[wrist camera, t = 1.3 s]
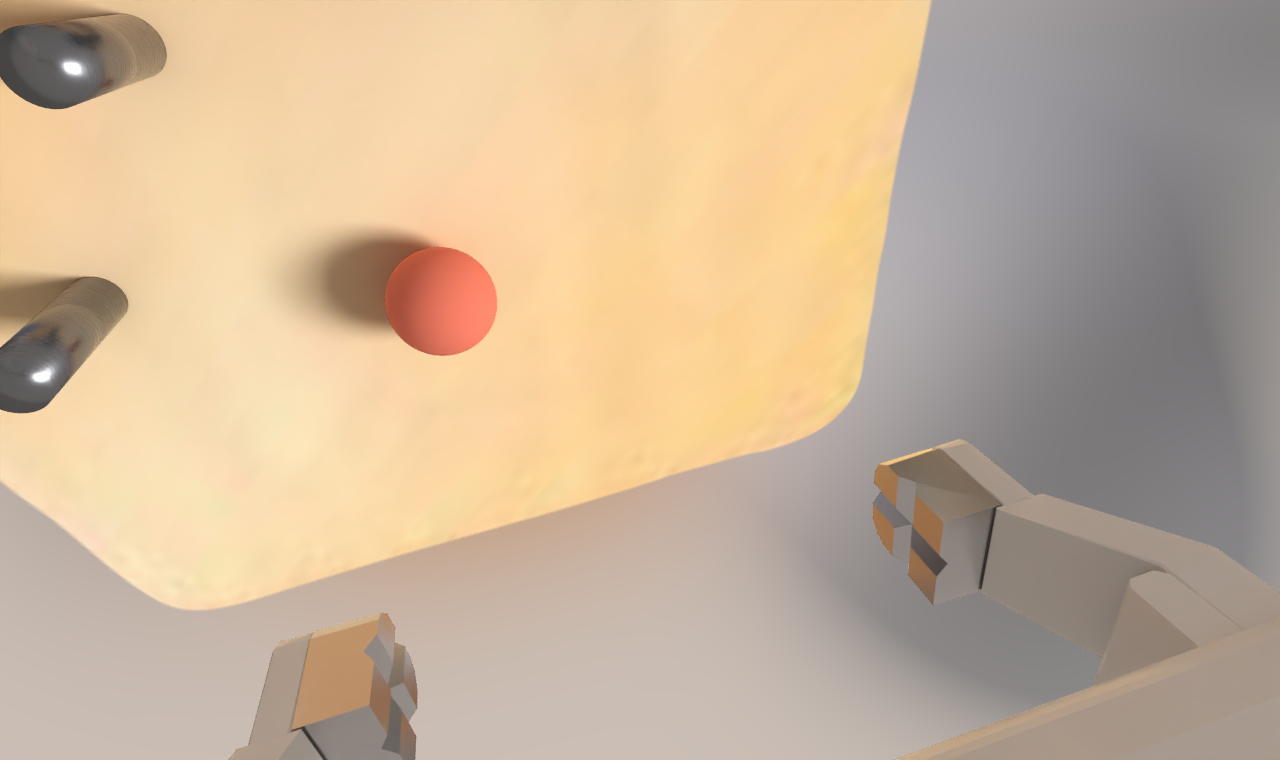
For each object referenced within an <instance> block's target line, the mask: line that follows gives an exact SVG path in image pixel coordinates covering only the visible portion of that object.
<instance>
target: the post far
mask: <svg viewBox="0 0 1280 760" xmlns="http://www.w3.org/2000/svg"><path fill="white" fill-rule="evenodd" d="M127 309H128V300H127V298H126V295H125V294H124V292H123V291H122V290H121V289H120V288H119V287H118V286H117V285H115V284H114V283H112V282H110V281H108V280H105V279H102V278H97V277H85V278H81V279H78V280H76V281H75V282H73V283H72V284H71V285H70V286H69V287H68V288H67V289H65V290H64V291H63V292H62V293H61V294H60V295H59V296H58V297H56V298H55V299H54V300H53V301H52V302H51V303H50V304H49V305H48V306H46V307H45V308H44V309H43V310H42V311H41V312H40V313H39V314H37V315H36V316H35V317H34V318H33V319H32V320H31V321H30V322H29V323H27V324H26V325H25V326H24V327H23V328H22V329H21V330H20V331H19V332H17V333H16V334H15V335H14V336H13V337H12V338H11V339H10V340H8V341H7V342H6V343H5V344H4V345H3V346H2V347H1V348H0V409H1V410H4V411H7V412H13V413H30V412H35V411H38V410H40V409H42V408H44V407H45V406H47V405H48V404H49V403H50V401H51V400H52V399H53V398H54V397H55V396H56V394H57V393H58V392H59V391H60V390H61V389H62V387H63V386H64V385H65V384H66V383H67V382H68V380H69V379H70V378H71V377H72V376H73V375H74V373H75V372H76V371H77V370H78V369H79V368H80V366H81V365H82V364H83V363H84V362H85V361H86V359H87V358H88V357H89V356H90V355H91V354H92V352H93V351H94V350H95V349H96V348H97V347H98V345H99V344H100V343H101V342H102V341H103V340H104V338H105V337H106V336H107V335H108V334H109V333H110V331H111V330H112V329H113V328H114V327H115V326H116V324H117V323H118V322H119V321H120V320H121V319H122V317H123V316H124V315H125V314H126V312H127Z"/></svg>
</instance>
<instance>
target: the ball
mask: <svg viewBox="0 0 1280 760" xmlns="http://www.w3.org/2000/svg"><path fill="white" fill-rule="evenodd" d="M385 309H386V313H387V316H388V319H389V322H390V324H391V325H392V327H393V329H394V330H395V332H396V333H397V334H398V336H399V337H400V338H401V339H402V340H403V341H404V342H406V343H407V344H408V345H410V346H411V347H413V348H415V349H417V350H419V351H421V352H424V353H427V354H432V355H440V356H446V355H454V354H458V353H461V352H464V351H466V350H468V349H470V348H472V347H474V346H475V345H476V344H478V343H479V342H480V341H481V340H482V339H483V338H484V337H485V336H486V335H487V333H488V332H489V330H490V328H491V327H492V324H493V322H494V319H495V316H496V311H497V296H496V290H495V287H494V284H493V282H492V280H491V277H490V276H489V274H488V273H487V271H486V270H485V269H484V267H483V266H482V265H481V264H480V263H478V262H477V261H476V260H475V259H474V258H472V257H471V256H469V255H467V254H466V253H463V252H461V251H458V250H455V249H451V248H444V247H434V248H427V249H423V250H420V251H417V252H415V253H413V254H411V255H409V256H408V257H407V258H405V259H404V260H403V261H402V262H401V263H399V265H398V266H397V267H396V268H395V270H394V271H393V272H392V274H391V276H390V278H389V280H388V283H387V287H386V291H385Z"/></svg>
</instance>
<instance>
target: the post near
mask: <svg viewBox="0 0 1280 760" xmlns="http://www.w3.org/2000/svg"><path fill="white" fill-rule="evenodd" d="M166 57H167V55H166V48H165V45H164V42H163V40H162V38H161V37H160V35H159V34H158V33H157V31H156V30H155V29H154V28H153V27H152V26H150V25H149V24H148V23H147V22H145V21H143V20H142V19H140V18H138V17H135V16H132V15H128V14H115V15H106V16H98V17H90V18H81V19H73V20H65V21H56V22H48V23H39V24H31V25H23V26H16V27H12V28H9V29H7V30H5V31H4V32H2V33H1V34H0V77H1V79H2V80H3V81H4V83H5V84H6V85H7V86H8V87H9V88H10V89H11V90H12V91H13V92H14V93H16V94H17V95H18V96H20V97H21V98H23V99H24V100H26V101H28V102H30V103H32V104H35V105H37V106H40V107H44V108H49V109H64V108H68V107H71V106H74V105H77V104H80V103H82V102H85V101H88V100H90V99H93V98H96V97H98V96H101V95H104V94H106V93H109V92H112V91H114V90H117V89H120V88H122V87H125V86H128V85H130V84H133V83H136V82H138V81H141V80H144V79H146V78H149V77H152V76H154V75H156V74H158V73H159V72H160V71H161V70H162V69H163V67H164V65H165V63H166Z"/></svg>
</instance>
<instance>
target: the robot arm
mask: <svg viewBox="0 0 1280 760" xmlns="http://www.w3.org/2000/svg"><path fill="white" fill-rule="evenodd" d="M874 484H875V485H876V486H877V487H878V488H879V489H880V490H881V492H880V493H879V495H878V496H877V498H876V499H875V501H874V502H873V520H874V524H875V527H876V530H877V534H878V535H879V537H880V539H881V541H882V543H883V545H884V546H885V547H886V548H887V550H888V551H889V552H890V553H891V555H892V556H894V557H896V558H899V559H901V560H903V561H906V562H908V563H909V569H908V576H909V577H910V578H911V579H912V580H913V582H914V583H915V584H916V585H917V586H918V587H919V589H920V590H921V591H922V592H923V594H924V595H925V596H926V597H927V599H928V600H929V601H930V602H931V603H932V605H936V604H940V603H943V602H946V601H949V600H953V599H956V598H959V597H963V596H965V595H969V594H972V593H976V592H979V591H981V594H983V595H984V596H986V597H988V598H990V599H992V600H994V601H996V602H998V603H1000V604H1001V605H1003V606H1005V607H1007V608H1009V609H1011V610H1013V611H1014V612H1017V613H1018V614H1020V615H1022V616H1024V617H1026V618H1028V619H1030V620H1031V621H1033V622H1035V623H1037V624H1039V625H1041V626H1043V627H1045V628H1046V629H1048V630H1050V631H1052V632H1054V633H1056V634H1058V635H1060V636H1061V637H1063V638H1065V639H1067V640H1069V641H1071V642H1073V643H1075V644H1076V645H1078V646H1080V647H1082V648H1084V649H1086V650H1088V651H1090V652H1091V653H1093V654H1095V655H1097V656H1099V657H1101V658H1103V659H1102V662H1101V665H1100V667H1099V670H1098V673H1097V676H1096V679H1095V683H1094V686H1092V687H1089V688H1086V689H1084V690H1081V691H1078V692H1076V693H1073V694H1070V695H1068V696H1065V697H1062V698H1060V699H1057V700H1054V701H1051V702H1049V703H1046V704H1043V705H1040V706H1038V707H1035V708H1032V709H1030V710H1027V711H1025V712H1022V713H1019V714H1017V715H1013V716H1011V717H1008V718H1005V719H1003V720H1000V721H997V722H995V723H992V724H989V725H987V726H984V727H981V728H978V729H976V730H973V731H970V732H968V733H965V734H962V735H959V736H957V737H954V738H951V739H949V740H946V741H943V742H940V743H938V744H935V745H932V746H930V747H927V748H924V749H922V750H919V751H916V752H913V753H911V754H908V755H905V756H903V757H900V758H897V759H895V760H1280V592H1278V591H1276V590H1275V589H1274V588H1272V587H1271V586H1270V585H1268V584H1266V583H1265V582H1264V581H1262V580H1261V579H1260V578H1258V577H1257V576H1255V575H1254V574H1253V573H1251V572H1250V571H1248V570H1247V569H1245V568H1244V567H1243V566H1241V565H1240V564H1238V563H1237V562H1235V561H1234V560H1233V559H1231V558H1230V557H1228V556H1227V555H1225V554H1224V553H1223V552H1221V551H1220V550H1218V549H1217V548H1215V547H1213V546H1209V545H1206V544H1203V543H1200V542H1197V541H1193V540H1190V539H1187V538H1184V537H1180V536H1177V535H1174V534H1171V533H1168V532H1164V531H1161V530H1158V529H1155V528H1151V527H1148V526H1145V525H1142V524H1139V523H1135V522H1132V521H1129V520H1126V519H1122V518H1119V517H1116V516H1113V515H1109V514H1106V513H1103V512H1100V511H1097V510H1093V509H1090V508H1087V507H1084V506H1080V505H1077V504H1074V503H1071V502H1067V501H1064V500H1061V499H1058V498H1055V497H1051V496H1048V495H1045V494H1039V495H1036V496H1033V495H1032V494H1031V493H1029V492H1028V491H1027V490H1026V489H1024V488H1023V487H1022V486H1021V485H1020V484H1019V483H1017V482H1016V481H1015V480H1014V479H1013V478H1011V477H1010V476H1009V475H1007V474H1006V473H1005V472H1004V471H1003V470H1002V469H1000V468H999V467H998V466H997V465H996V464H994V463H993V462H992V461H991V460H989V459H988V458H987V457H986V456H985V455H983V454H982V453H981V452H980V451H978V450H977V449H976V448H975V447H974V446H972V445H971V444H970V443H969V442H967V441H964V440H961V439H958V440H955V441H952V442H948V443H946V444H942V445H939V446H935V447H933V448H931V449H926V450H923V451H919V452H916V453H913V454H910V455H907V456H903V457H900V458H897V459H894V460H890V461H887V462H884V463H881V464H878V466H877V468H876V470H875V475H874ZM416 710H417V683H416V676H415V671H414V667H413V664H412V661H411V658H410V655H409V653H408V651H407V649H406V647H405V646H402V645H400V644H398V643H395V626H394V624H393V623H392V621H391V619H390V617H389V616H388V614H387V613H379V614H376V615H372V616H368V617H365V618H361V619H357V620H354V621H350V622H346V623H343V624H339V625H336V626H332V627H328V628H324V629H321V630H317V631H315V632H313V633H309V634H305V635H302V636H298V637H294V638H290V639H287V640H283V641H280V642H279V644H278V645H277V646H276V648H275V649H274V651H273V654H272V657H271V661H270V665H269V669H268V672H267V676H266V680H265V684H264V688H263V691H262V695H261V699H260V703H259V706H258V711H257V714H256V718H255V722H254V725H253V729H252V733H251V737H250V740H249V744H248V746H245V747H242V748H239V749H237V750H236V751H235V752H234V754H233V755H232V756H231V757H230V758H229V760H415V754H416V753H415V752H416V735H415V733H414V731H413V729H412V728H411V726H410V724H409V720H410V719H411V717H412V716H413V714H414V713H415V711H416Z"/></svg>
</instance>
